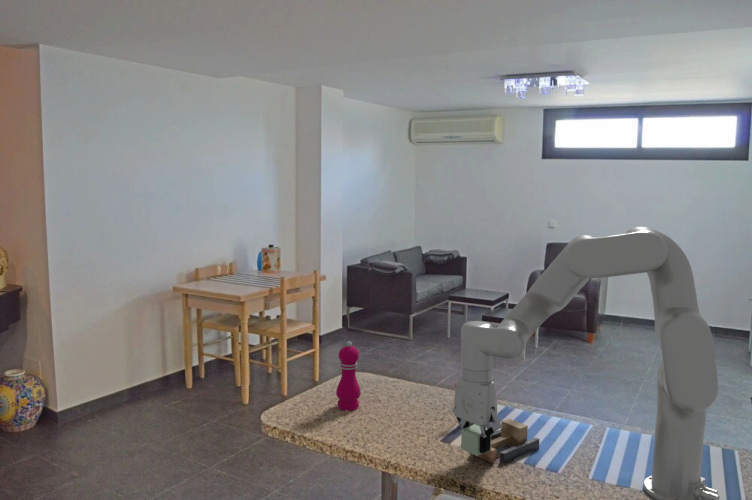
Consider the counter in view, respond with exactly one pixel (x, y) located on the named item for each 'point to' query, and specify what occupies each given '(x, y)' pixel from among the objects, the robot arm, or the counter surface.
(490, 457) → the tan pedestal
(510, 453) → the dark grey rails
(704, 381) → the robot arm
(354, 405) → the pepper mill
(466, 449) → the block
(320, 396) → the counter surface
